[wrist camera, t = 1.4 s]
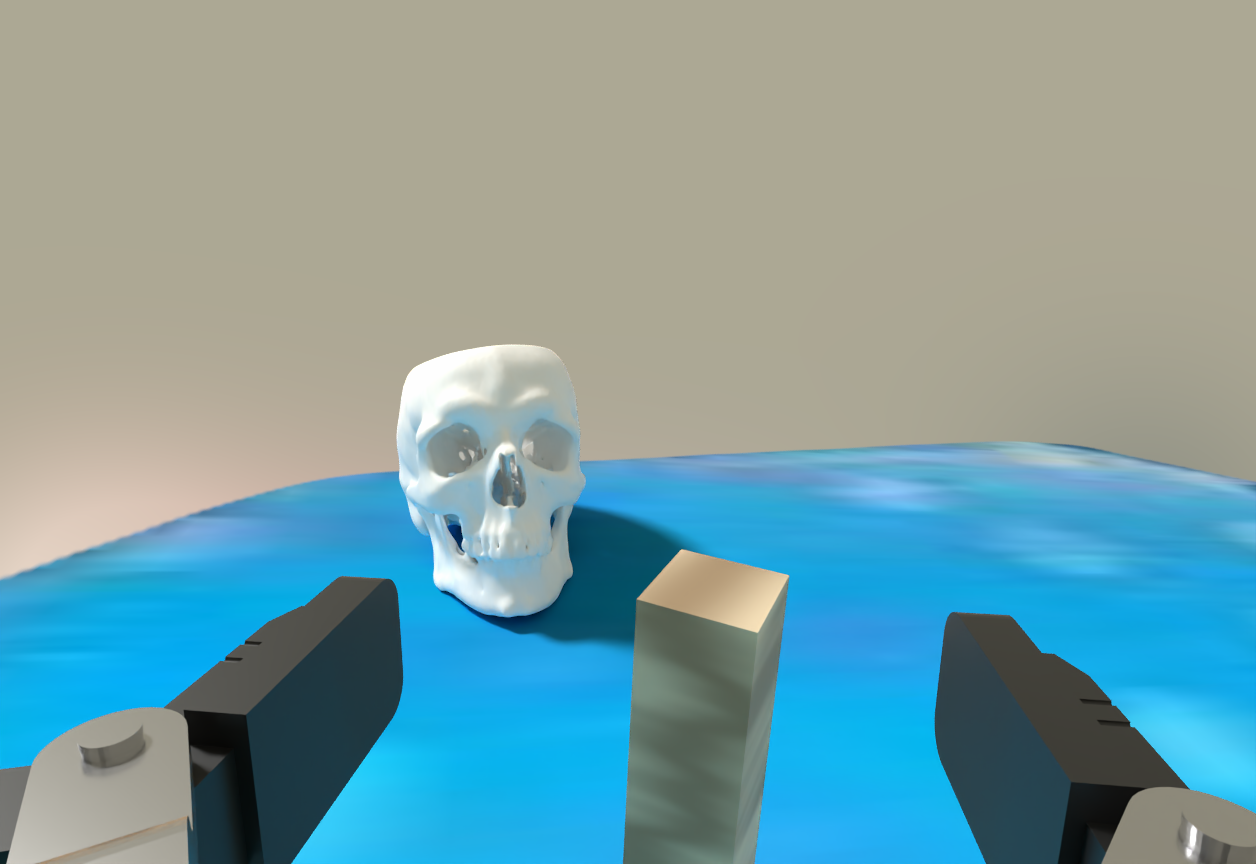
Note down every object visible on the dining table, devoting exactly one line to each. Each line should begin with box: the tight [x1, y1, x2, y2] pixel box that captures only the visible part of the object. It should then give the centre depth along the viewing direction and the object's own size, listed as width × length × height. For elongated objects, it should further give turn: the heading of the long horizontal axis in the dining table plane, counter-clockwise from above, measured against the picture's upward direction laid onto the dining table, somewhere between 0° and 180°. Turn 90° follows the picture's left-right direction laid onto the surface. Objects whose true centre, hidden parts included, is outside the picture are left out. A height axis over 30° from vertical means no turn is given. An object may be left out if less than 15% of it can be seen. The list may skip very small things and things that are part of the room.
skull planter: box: [397, 345, 586, 617], centre depth 56 cm, size 14×20×19 cm
